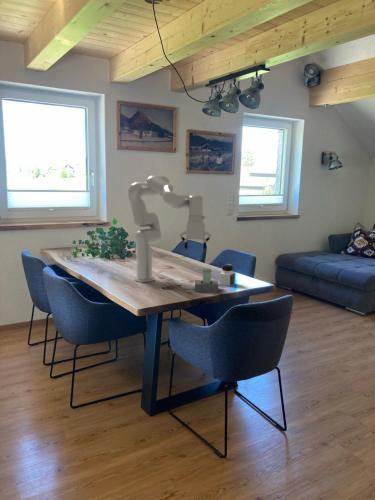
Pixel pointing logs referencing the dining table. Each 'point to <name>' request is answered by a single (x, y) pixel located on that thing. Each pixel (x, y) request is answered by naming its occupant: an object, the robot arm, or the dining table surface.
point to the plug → (206, 276)
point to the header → (206, 286)
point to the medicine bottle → (227, 275)
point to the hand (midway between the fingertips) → (195, 249)
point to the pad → (188, 287)
